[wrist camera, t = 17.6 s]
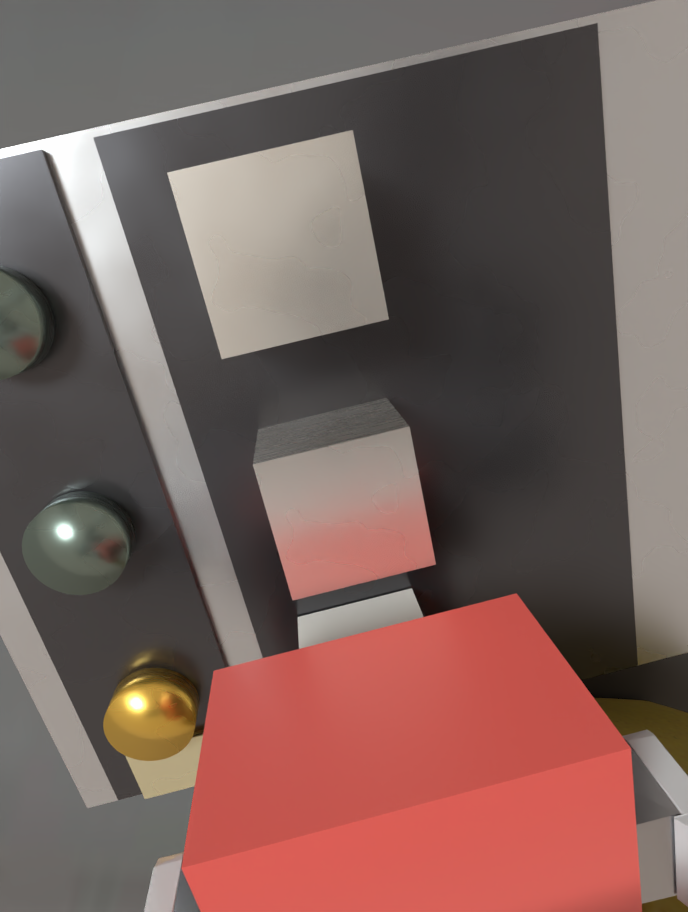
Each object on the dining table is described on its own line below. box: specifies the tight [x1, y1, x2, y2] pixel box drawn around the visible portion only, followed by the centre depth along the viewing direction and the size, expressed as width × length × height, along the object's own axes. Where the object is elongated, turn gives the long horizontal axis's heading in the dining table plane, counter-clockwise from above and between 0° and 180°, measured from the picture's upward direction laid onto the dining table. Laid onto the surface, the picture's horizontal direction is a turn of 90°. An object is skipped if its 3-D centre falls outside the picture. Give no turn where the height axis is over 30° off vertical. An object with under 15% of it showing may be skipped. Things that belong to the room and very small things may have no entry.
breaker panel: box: [0, 0, 688, 808], centre depth 14 cm, size 18×16×6 cm
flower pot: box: [594, 698, 688, 912], centre depth 17 cm, size 9×9×9 cm
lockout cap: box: [181, 593, 642, 912], centre depth 10 cm, size 6×6×4 cm
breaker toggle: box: [298, 588, 423, 649], centre depth 14 cm, size 3×3×2 cm
